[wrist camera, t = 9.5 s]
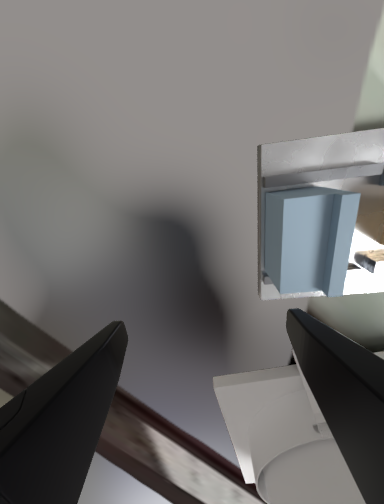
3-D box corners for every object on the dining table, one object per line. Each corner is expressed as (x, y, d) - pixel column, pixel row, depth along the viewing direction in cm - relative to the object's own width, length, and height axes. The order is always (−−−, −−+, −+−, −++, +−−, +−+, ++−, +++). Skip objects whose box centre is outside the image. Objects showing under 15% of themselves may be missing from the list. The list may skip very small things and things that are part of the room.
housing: (309, 265, 19) (342, 296, 14) (264, 269, 19) (283, 300, 15) (317, 186, 16) (360, 193, 12) (265, 192, 17) (289, 201, 12)
